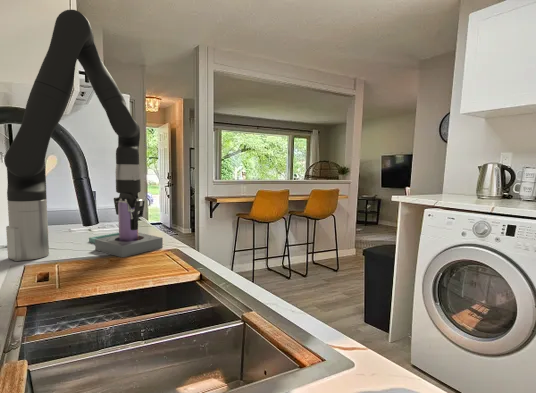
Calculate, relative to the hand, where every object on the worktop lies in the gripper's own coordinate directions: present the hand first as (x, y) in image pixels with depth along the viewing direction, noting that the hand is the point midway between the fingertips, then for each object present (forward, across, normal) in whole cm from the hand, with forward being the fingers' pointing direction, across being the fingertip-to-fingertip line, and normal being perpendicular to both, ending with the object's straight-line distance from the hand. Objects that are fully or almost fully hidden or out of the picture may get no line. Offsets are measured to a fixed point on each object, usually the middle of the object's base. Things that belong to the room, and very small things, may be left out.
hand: (129, 228), depth 105 cm
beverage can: (+6, -1, 0) cm, 6 cm away
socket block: (+7, 0, 0) cm, 7 cm away
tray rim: (+7, -14, +3) cm, 16 cm away
